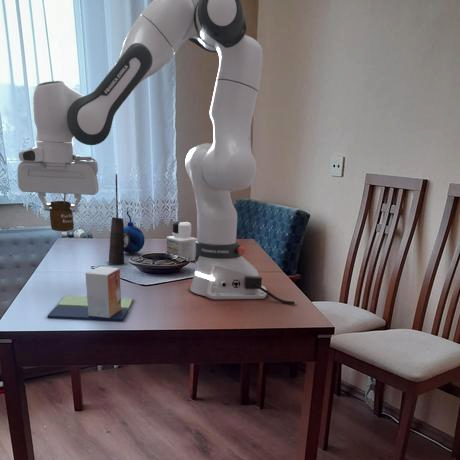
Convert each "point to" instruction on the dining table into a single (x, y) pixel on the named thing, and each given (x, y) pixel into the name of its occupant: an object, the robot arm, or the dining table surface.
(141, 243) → the bomb
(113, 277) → the small box
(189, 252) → the container
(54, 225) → the utensil holder
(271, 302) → the dining table surface
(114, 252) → the butter churn
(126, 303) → the sage mat
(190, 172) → the robot arm
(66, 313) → the slate mat
